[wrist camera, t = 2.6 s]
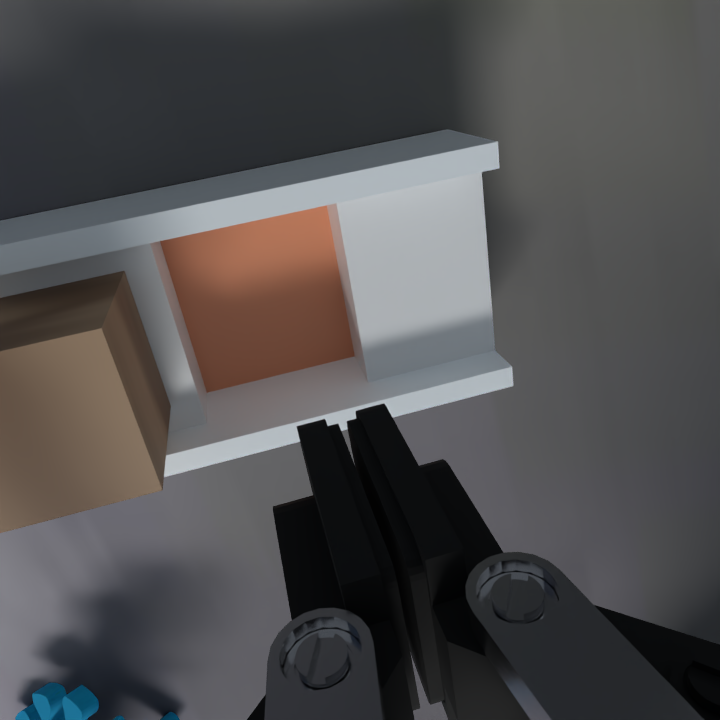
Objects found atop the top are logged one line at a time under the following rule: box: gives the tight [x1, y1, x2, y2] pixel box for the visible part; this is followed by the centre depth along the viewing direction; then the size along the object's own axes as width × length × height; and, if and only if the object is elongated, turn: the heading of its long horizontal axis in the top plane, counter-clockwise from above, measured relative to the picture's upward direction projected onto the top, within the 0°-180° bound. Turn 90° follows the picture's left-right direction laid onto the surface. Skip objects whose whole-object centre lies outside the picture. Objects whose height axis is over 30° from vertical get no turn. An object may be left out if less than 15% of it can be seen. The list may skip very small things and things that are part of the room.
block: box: [0, 271, 171, 533], centre depth 19 cm, size 5×5×5 cm
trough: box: [0, 129, 513, 477], centre depth 22 cm, size 26×9×4 cm, turn 99°
